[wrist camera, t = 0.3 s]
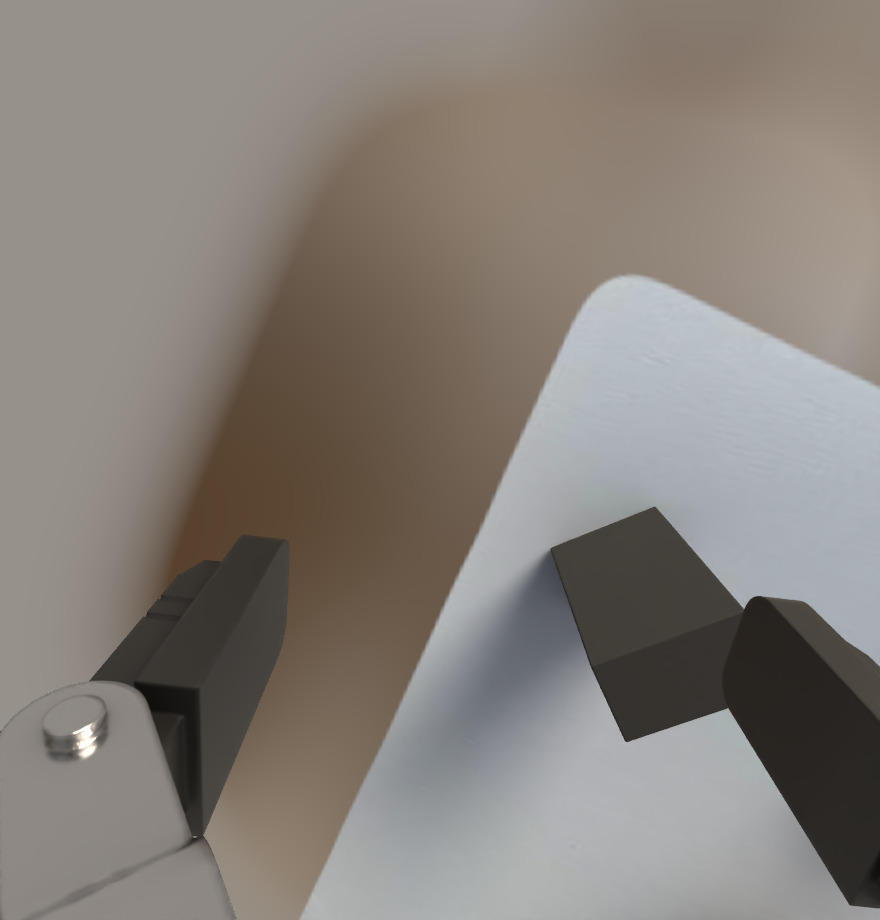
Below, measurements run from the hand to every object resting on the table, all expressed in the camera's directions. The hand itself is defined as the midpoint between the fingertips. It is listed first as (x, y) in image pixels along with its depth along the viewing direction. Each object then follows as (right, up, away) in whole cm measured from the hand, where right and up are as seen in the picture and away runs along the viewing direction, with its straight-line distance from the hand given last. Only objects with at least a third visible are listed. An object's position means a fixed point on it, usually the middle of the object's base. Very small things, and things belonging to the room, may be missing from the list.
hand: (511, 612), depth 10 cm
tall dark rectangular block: (+8, -3, +22) cm, 23 cm away
